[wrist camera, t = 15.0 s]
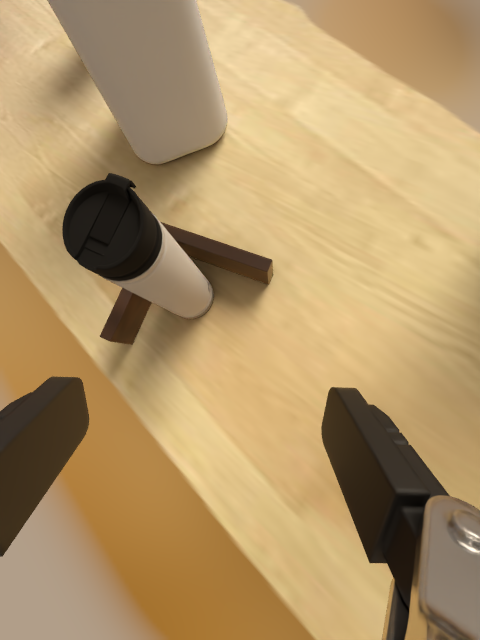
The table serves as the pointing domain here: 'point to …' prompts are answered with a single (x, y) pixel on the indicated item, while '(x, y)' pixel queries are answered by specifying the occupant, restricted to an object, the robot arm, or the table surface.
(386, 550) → the robot arm
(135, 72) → the plastic bottle
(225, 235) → the table surface
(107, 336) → the corner bracket
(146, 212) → the travel mug
